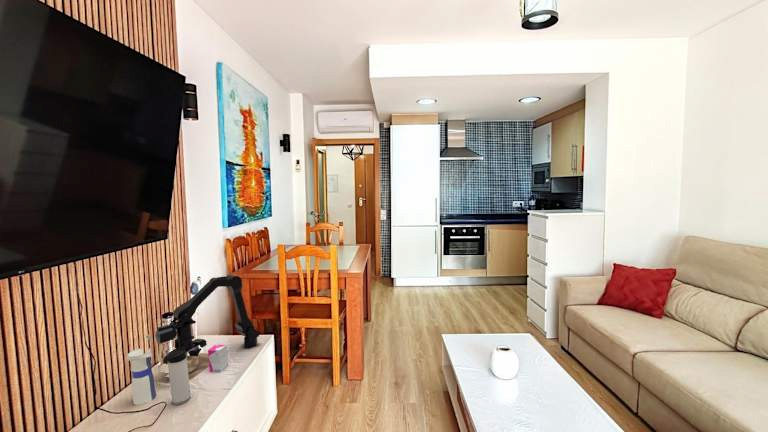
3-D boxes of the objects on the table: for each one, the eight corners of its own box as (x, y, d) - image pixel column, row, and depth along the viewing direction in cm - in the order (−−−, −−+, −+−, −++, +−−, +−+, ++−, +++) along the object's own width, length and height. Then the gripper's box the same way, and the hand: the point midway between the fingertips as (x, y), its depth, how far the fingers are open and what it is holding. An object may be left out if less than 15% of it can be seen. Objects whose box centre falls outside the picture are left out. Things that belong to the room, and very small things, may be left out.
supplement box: (229, 368, 158) (227, 344, 157) (221, 375, 153) (219, 350, 152) (217, 368, 159) (214, 344, 158) (209, 375, 153) (207, 350, 152)
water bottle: (140, 393, 142) (133, 333, 139) (161, 391, 142) (155, 332, 140) (126, 405, 134) (119, 343, 131) (149, 404, 134) (142, 341, 132)
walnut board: (201, 355, 172) (200, 352, 171) (225, 358, 168) (225, 355, 168) (162, 380, 150) (162, 377, 150) (189, 383, 147) (189, 380, 147)
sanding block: (184, 365, 158) (183, 355, 158) (199, 367, 156) (198, 356, 156) (175, 371, 154) (174, 360, 153) (190, 373, 152) (189, 362, 151)
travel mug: (195, 396, 138) (190, 347, 136) (180, 406, 132) (175, 355, 130) (183, 393, 140) (178, 345, 138) (168, 403, 134) (162, 353, 132)
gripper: (186, 325, 165) (189, 357, 166) (150, 343, 147) (154, 379, 148) (206, 327, 162) (208, 359, 163) (172, 345, 144) (175, 381, 145)
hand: (187, 369), depth 155 cm, fingers closed on sanding block, 5 cm apart
